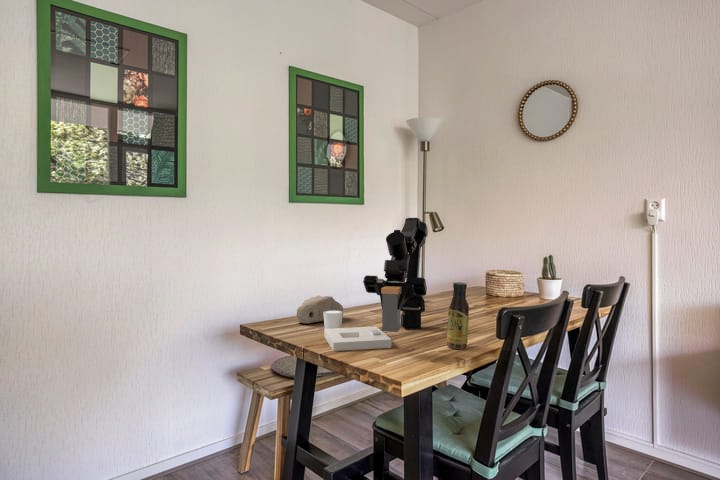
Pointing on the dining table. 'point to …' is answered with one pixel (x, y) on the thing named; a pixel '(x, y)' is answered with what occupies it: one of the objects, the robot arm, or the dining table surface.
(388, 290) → the plug
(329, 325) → the white tapered cup
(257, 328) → the dining table surface
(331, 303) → the decorative stone
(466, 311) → the sauce bottle
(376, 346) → the socket plate
